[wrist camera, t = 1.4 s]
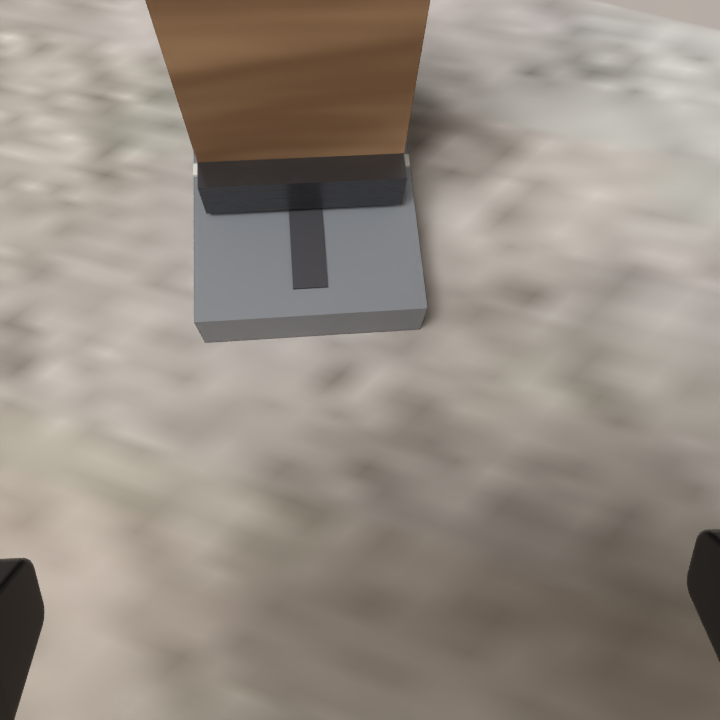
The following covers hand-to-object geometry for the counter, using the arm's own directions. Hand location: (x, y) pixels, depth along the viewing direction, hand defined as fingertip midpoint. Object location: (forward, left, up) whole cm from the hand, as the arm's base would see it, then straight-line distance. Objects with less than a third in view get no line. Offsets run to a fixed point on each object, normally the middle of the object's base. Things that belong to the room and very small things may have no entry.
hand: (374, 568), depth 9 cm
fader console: (+10, +13, -14) cm, 21 cm away
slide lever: (+9, +12, -11) cm, 18 cm away
